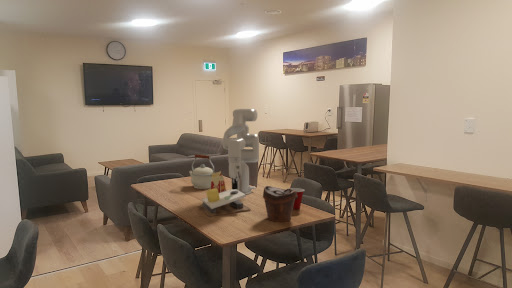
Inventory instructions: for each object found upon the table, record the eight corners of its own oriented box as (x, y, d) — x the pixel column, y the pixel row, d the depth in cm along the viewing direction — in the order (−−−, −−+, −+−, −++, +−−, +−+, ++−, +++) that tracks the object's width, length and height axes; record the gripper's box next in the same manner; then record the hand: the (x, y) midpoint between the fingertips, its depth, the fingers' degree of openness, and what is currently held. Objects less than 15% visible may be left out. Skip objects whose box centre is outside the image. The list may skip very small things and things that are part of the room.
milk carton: (227, 199, 241) (227, 170, 239) (220, 203, 233) (219, 172, 230) (215, 198, 245) (215, 169, 242) (208, 201, 237) (207, 171, 234)
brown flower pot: (303, 221, 196) (303, 189, 194) (268, 225, 191) (268, 192, 189) (290, 212, 213) (290, 182, 211) (258, 215, 208) (258, 185, 206)
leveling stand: (237, 202, 234) (237, 196, 234) (250, 210, 216) (250, 204, 216) (198, 207, 223) (198, 201, 222) (209, 216, 205) (209, 210, 205)
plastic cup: (307, 206, 224) (307, 188, 222) (300, 211, 215) (300, 191, 213) (291, 204, 229) (291, 186, 228) (283, 208, 220) (283, 189, 219)
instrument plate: (234, 190, 231) (232, 179, 230) (245, 196, 215) (243, 185, 213) (202, 201, 222) (199, 189, 221) (211, 209, 206) (208, 196, 205)
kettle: (221, 186, 279) (221, 154, 276) (206, 191, 264) (205, 157, 261) (197, 182, 292) (196, 152, 290) (181, 186, 277) (180, 154, 274)
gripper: (245, 160, 214) (245, 191, 216) (235, 157, 227) (235, 186, 229) (233, 161, 211) (233, 192, 213) (224, 158, 224) (224, 187, 226)
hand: (234, 189), depth 221 cm, fingers closed
